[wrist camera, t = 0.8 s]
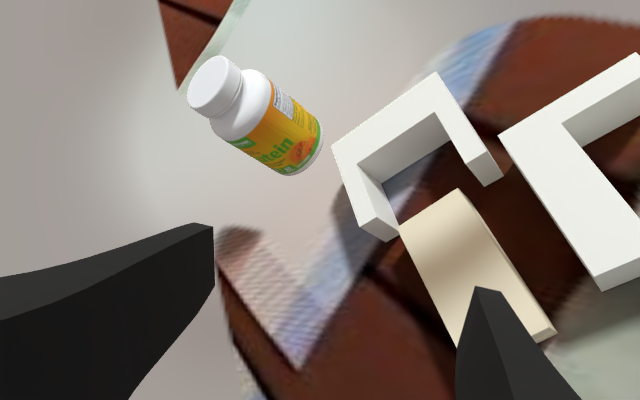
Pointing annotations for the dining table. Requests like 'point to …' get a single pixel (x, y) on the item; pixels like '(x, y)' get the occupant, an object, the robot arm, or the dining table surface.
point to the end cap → (405, 150)
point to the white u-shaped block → (584, 171)
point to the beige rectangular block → (466, 264)
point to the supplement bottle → (255, 116)
